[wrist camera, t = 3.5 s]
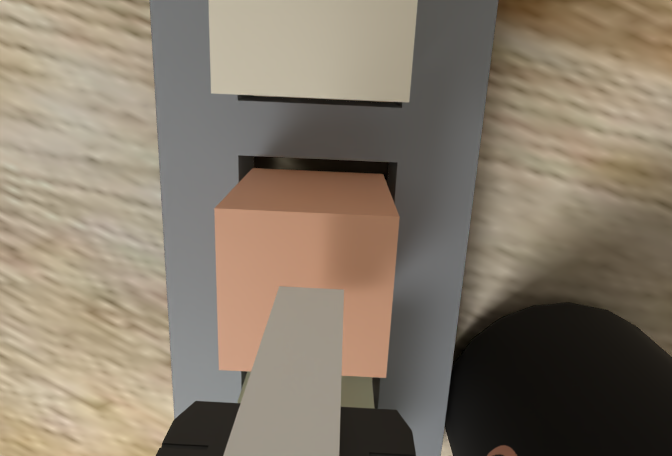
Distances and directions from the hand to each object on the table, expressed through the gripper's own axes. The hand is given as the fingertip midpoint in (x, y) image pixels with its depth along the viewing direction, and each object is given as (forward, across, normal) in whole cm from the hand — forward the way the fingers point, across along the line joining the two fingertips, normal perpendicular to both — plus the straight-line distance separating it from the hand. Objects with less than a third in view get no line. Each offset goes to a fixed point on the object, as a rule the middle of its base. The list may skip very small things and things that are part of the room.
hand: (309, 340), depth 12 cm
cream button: (+9, 0, +8) cm, 12 cm away
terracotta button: (+9, 0, 0) cm, 9 cm away
